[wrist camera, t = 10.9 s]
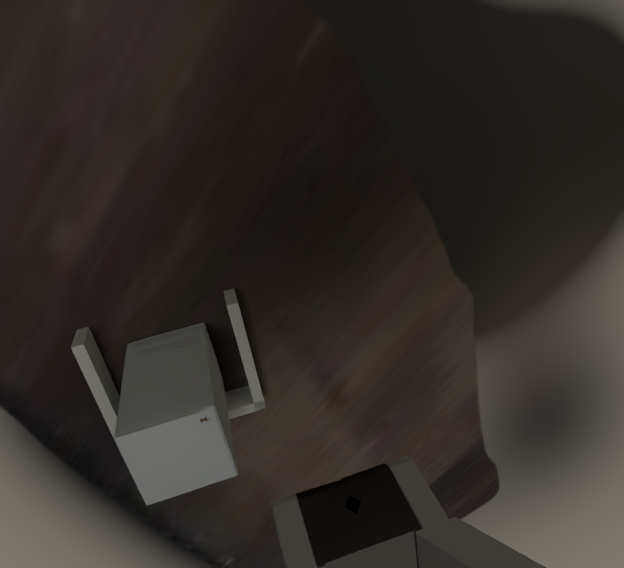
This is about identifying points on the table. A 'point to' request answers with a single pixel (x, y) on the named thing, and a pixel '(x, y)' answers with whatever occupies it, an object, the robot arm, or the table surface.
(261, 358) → the table surface
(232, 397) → the bay
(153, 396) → the supplement box
